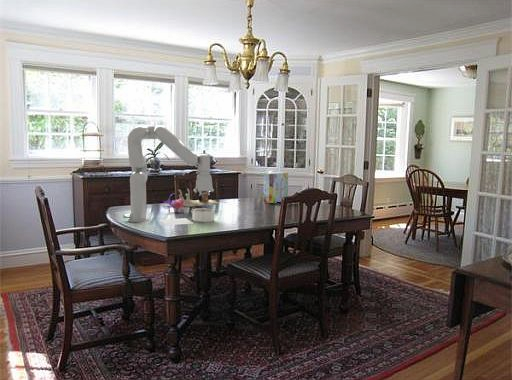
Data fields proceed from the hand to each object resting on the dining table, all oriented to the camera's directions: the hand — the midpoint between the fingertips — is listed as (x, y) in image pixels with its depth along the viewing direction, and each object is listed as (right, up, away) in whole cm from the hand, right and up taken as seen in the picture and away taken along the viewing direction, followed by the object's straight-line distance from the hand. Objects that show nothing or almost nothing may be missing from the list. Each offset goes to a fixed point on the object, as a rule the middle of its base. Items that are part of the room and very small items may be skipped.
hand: (203, 201), depth 279 cm
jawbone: (-15, -6, +55) cm, 57 cm away
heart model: (-24, -9, +28) cm, 38 cm away
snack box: (+50, -4, +89) cm, 102 cm away
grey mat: (-17, -13, -6) cm, 22 cm away
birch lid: (0, -1, 0) cm, 1 cm away
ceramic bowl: (-1, -13, +2) cm, 13 cm away
